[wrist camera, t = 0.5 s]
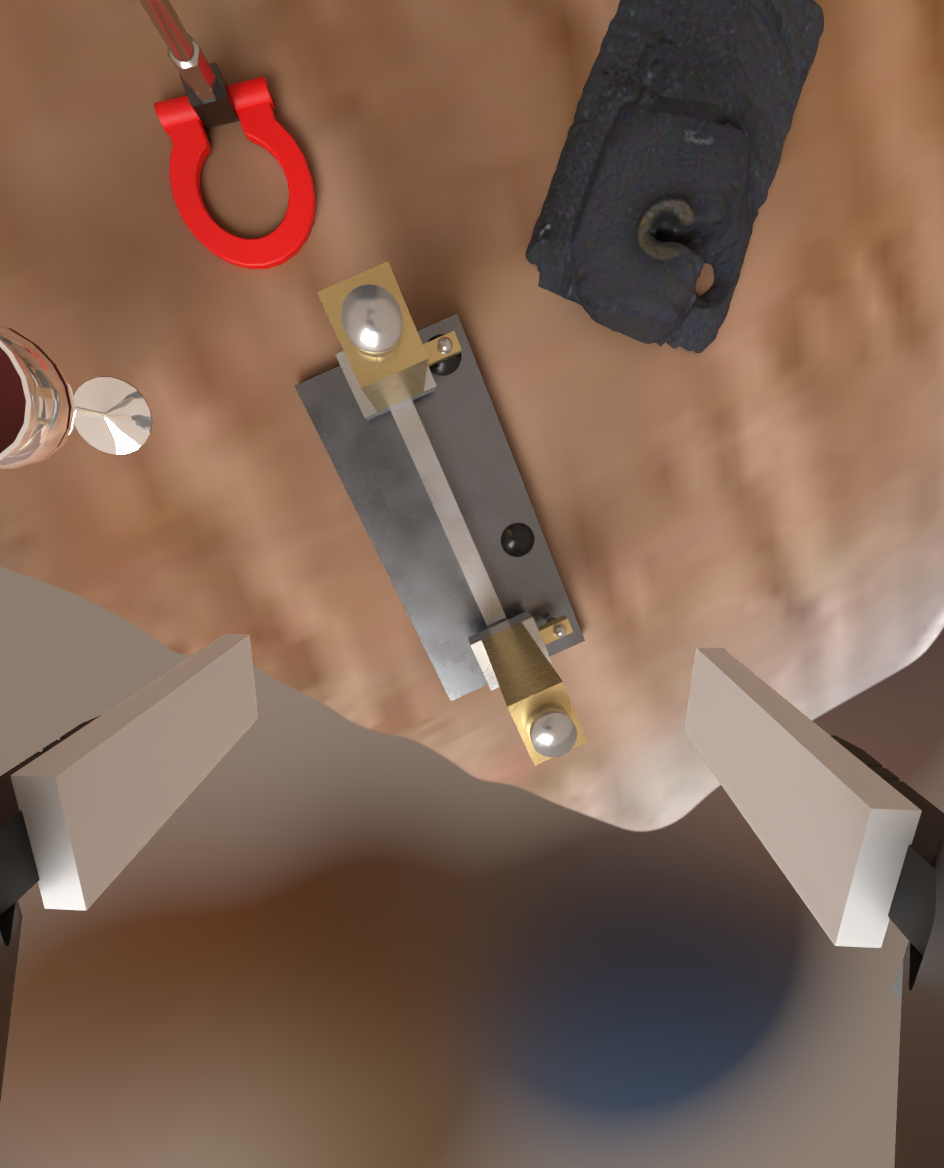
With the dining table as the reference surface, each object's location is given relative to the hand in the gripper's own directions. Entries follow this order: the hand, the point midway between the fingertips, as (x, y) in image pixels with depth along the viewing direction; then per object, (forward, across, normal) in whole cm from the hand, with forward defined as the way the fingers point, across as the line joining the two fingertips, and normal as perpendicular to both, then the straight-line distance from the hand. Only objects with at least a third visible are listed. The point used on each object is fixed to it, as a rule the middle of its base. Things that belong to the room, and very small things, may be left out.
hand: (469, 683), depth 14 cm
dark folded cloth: (+27, +12, +26) cm, 39 cm away
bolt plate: (+24, -2, +2) cm, 24 cm away
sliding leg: (+23, +3, -7) cm, 24 cm away
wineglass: (+21, -25, +9) cm, 34 cm away
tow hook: (+22, -15, +23) cm, 35 cm away
